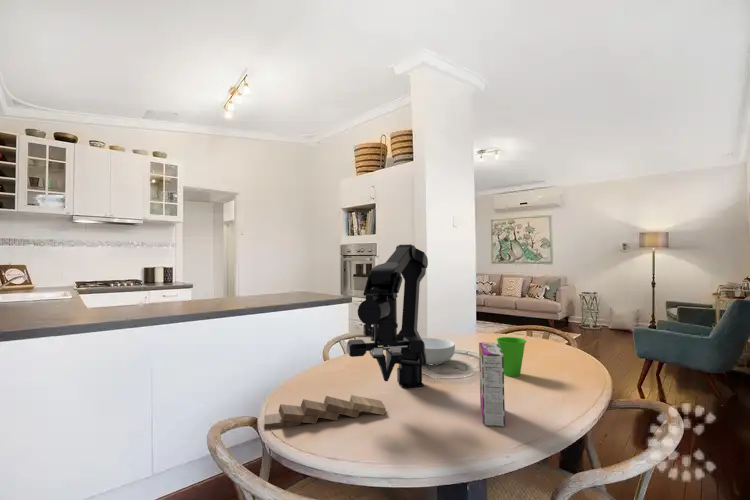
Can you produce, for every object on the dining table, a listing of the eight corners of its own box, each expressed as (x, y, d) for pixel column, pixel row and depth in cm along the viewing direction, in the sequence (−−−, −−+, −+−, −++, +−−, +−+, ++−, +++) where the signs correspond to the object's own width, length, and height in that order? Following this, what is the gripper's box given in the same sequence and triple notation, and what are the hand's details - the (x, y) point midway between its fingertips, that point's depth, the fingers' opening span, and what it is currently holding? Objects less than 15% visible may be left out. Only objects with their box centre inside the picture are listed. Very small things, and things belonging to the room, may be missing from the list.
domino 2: (312, 407, 93) (280, 404, 90) (318, 416, 89) (284, 413, 85) (310, 414, 93) (278, 411, 90) (316, 423, 88) (282, 420, 85)
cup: (495, 376, 120) (495, 341, 120) (497, 368, 128) (497, 335, 128) (526, 380, 116) (526, 344, 117) (526, 371, 125) (526, 337, 125)
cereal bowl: (459, 369, 128) (459, 348, 128) (409, 369, 128) (409, 348, 128) (450, 355, 145) (450, 336, 145) (406, 355, 145) (406, 337, 145)
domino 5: (381, 400, 98) (351, 394, 96) (385, 408, 93) (354, 402, 91) (379, 406, 98) (349, 401, 96) (384, 415, 93) (352, 409, 91)
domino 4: (356, 403, 96) (326, 395, 95) (359, 411, 91) (327, 403, 90) (354, 409, 96) (323, 401, 95) (357, 418, 91) (325, 410, 90)
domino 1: (299, 411, 93) (265, 415, 91) (300, 420, 88) (264, 424, 86) (299, 418, 93) (265, 421, 91) (300, 427, 88) (264, 431, 86)
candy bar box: (479, 406, 97) (478, 341, 97) (499, 407, 96) (498, 342, 96) (482, 426, 86) (481, 353, 86) (505, 428, 85) (504, 354, 85)
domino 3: (333, 405, 95) (303, 399, 92) (338, 413, 90) (306, 407, 87) (331, 411, 95) (300, 405, 92) (336, 420, 90) (304, 414, 87)
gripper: (411, 311, 105) (412, 368, 105) (343, 314, 101) (344, 373, 101) (425, 318, 94) (425, 381, 94) (349, 321, 90) (350, 388, 90)
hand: (385, 380), depth 95 cm, fingers closed
